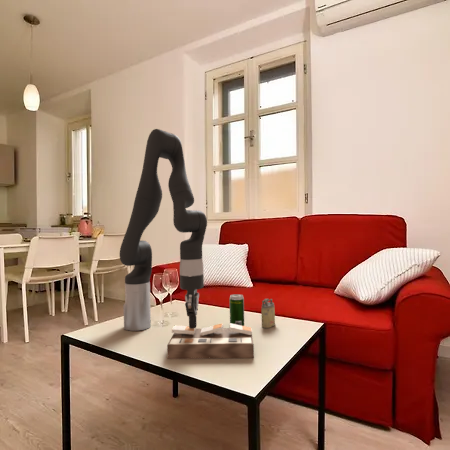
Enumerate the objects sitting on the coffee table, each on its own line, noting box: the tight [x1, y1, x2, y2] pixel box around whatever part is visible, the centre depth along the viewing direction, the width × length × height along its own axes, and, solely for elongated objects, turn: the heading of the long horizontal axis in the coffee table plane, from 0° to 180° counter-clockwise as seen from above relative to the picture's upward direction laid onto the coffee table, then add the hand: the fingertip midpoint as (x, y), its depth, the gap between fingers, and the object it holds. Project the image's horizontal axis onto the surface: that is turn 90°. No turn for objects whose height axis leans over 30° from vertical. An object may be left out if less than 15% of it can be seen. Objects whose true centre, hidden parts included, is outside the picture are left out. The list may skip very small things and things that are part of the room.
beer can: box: [229, 293, 245, 326], centre depth 115 cm, size 5×5×12 cm
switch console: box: [166, 327, 255, 360], centre depth 96 cm, size 25×14×5 cm, turn 88°
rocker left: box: [171, 325, 197, 334], centre depth 98 cm, size 7×4×1 cm, turn 88°
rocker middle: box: [200, 322, 224, 336], centre depth 97 cm, size 7×4×1 cm, turn 89°
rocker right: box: [228, 322, 253, 336], centre depth 97 cm, size 7×4×1 cm, turn 88°
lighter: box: [260, 298, 276, 329], centre depth 117 cm, size 7×4×10 cm, turn 145°
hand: (192, 327), depth 97 cm, fingers closed
